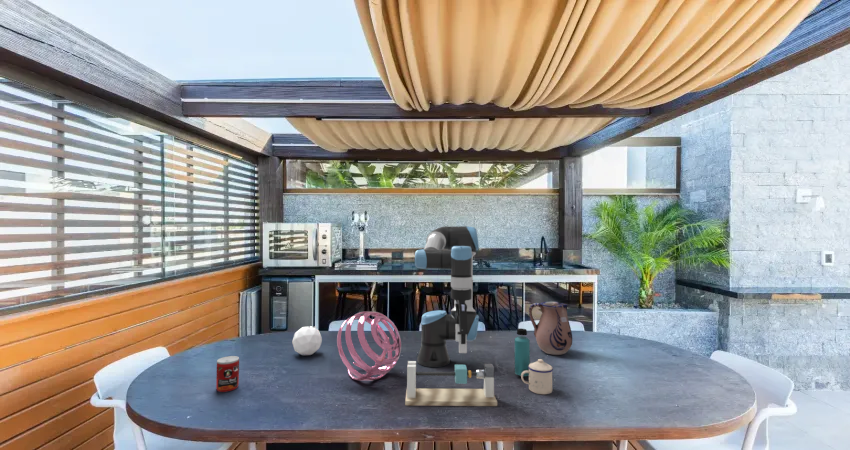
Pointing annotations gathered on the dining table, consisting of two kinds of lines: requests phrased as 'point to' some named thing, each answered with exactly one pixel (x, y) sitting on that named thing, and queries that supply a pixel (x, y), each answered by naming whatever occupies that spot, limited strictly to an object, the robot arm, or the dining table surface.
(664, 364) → the dining table surface
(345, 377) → the dining table surface
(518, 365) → the beverage bottle
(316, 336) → the geodesic sphere
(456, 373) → the sleeve
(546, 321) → the ceramic pitcher
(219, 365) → the canned food
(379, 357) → the spiral basket
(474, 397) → the cord jig
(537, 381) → the teacup with lid
